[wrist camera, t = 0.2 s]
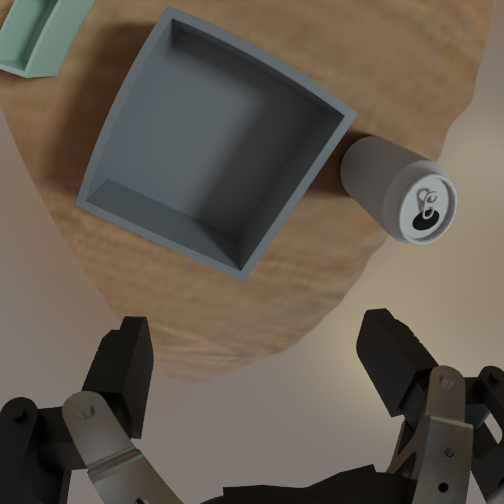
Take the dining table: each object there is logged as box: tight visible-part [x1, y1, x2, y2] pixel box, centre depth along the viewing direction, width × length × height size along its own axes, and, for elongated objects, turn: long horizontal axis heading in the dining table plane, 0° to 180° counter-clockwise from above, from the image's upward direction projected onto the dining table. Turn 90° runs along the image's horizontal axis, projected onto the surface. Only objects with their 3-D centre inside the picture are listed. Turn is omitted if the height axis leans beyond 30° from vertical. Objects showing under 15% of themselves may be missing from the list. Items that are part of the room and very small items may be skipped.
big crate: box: [75, 6, 358, 281], centre depth 25 cm, size 18×17×7 cm
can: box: [340, 136, 457, 246], centre depth 26 cm, size 8×8×12 cm
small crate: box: [0, 0, 95, 78], centre depth 17 cm, size 9×6×6 cm, turn 149°
